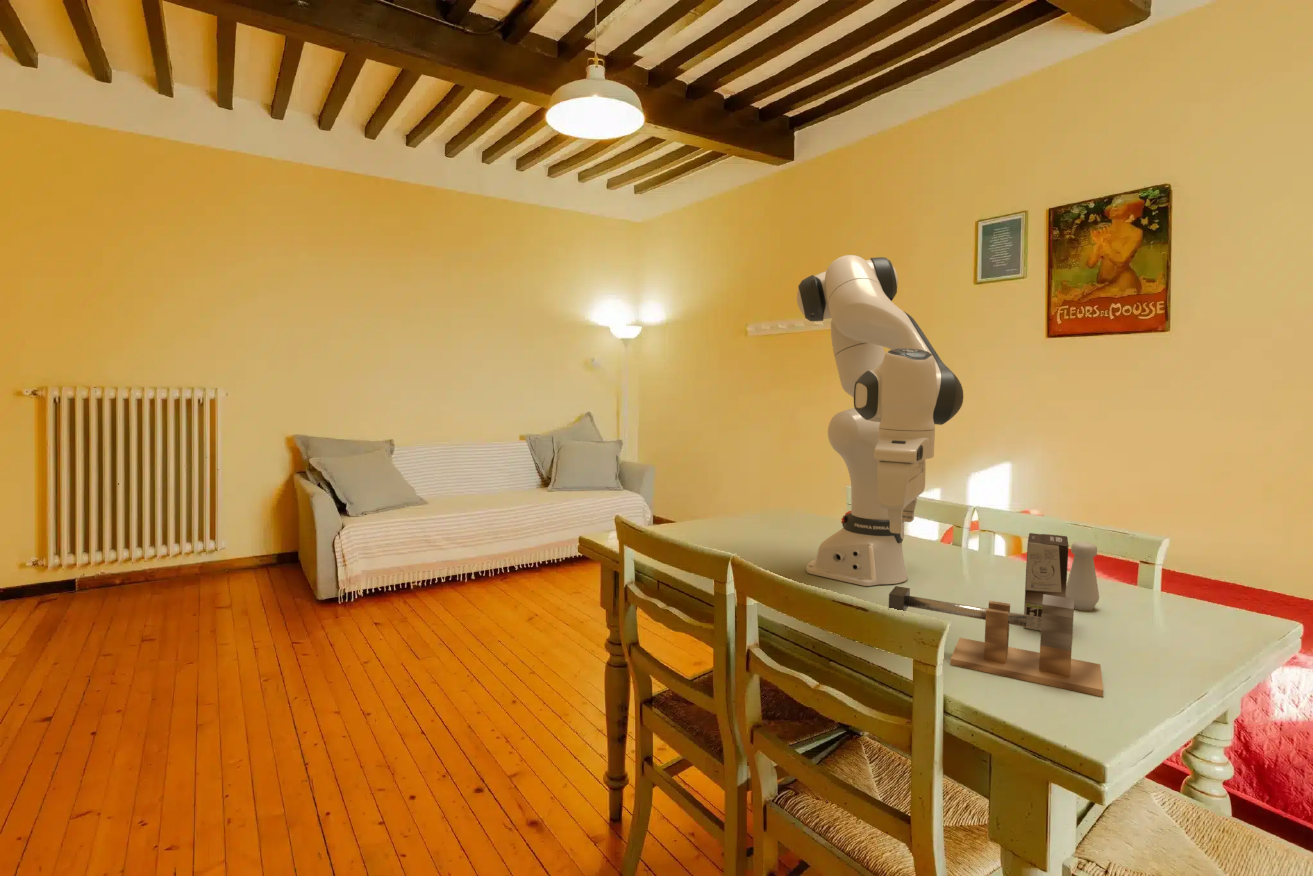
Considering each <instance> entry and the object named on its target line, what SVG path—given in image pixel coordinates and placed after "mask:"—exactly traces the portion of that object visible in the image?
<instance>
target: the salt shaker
mask: <svg viewBox="0 0 1313 876" xmlns="http://www.w3.org/2000/svg"><path fill="white" fill-rule="evenodd" d="M1070 551H1071V554H1073V555H1074V557H1073V559H1072V564H1071V568H1070V571H1069V575H1068V577H1067V585H1066V598H1072V599H1074V608H1075V609H1074V610H1077V611H1083V610H1084V611H1086V612H1091V611H1093V610H1094V608H1095V607H1096V605H1097V604H1098V603H1099V601H1100V594H1099V587H1098V580H1097V573H1096V567H1095V561H1094V557H1096V556H1097V555H1098V554H1097V553H1098V547H1097V546H1096V545H1095V544H1094V543H1092V542H1087V541H1075V542H1073V543H1072V544H1071V549H1070Z"/></svg>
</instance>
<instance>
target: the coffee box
mask: <svg viewBox="0 0 1313 876" xmlns="http://www.w3.org/2000/svg"><path fill="white" fill-rule="evenodd" d="M1069 546H1070V545H1069V541H1068V536H1066V535H1058V534H1047V533H1034V532H1033V533H1032V532H1029V533H1028V538H1027V547H1026V549H1027V550H1026V562H1025V563H1026V564H1025V565H1026V566H1025V567H1026V568H1025V588H1024V606H1023V607H1024V609H1023V611H1024V613H1023V615H1027V624H1026V627H1023V628H1024V629H1029V630H1035V631H1040V632H1041V620H1042V602H1043V594H1045V595H1052V596H1059V597H1066V586H1067V582H1068V567H1069V565H1068V563H1069Z"/></svg>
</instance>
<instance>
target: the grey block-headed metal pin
mask: <svg viewBox="0 0 1313 876" xmlns="http://www.w3.org/2000/svg"><path fill="white" fill-rule="evenodd" d="M889 608H894V609H897V610H903V611H905V612H906V611H907V609H908V608H915V609H920V610H927V611H931V612H936V613H937V612H938V613H945V614H950V615H955V616H960V617H967V618H973V619H978V620H985V621H986V609H987V608H984V607H979V606H971V605H967V604H962V603H961V604H960V603H955V602H950V601H949V602H948V601H942V600H936V599H931V598H926V597H919V596H912V595H911V588H910V587H904V586H900V585H899V586H898V585H895V586H894V587H893V589H892V590H891V591H890V592H889V594H888V609H889ZM1008 624H1009V625H1013V626H1019V627H1023V628H1024V627H1026V624H1027V615H1024V614H1021V613H1014V612H1011V611H1010V612H1008Z"/></svg>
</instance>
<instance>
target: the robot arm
mask: <svg viewBox="0 0 1313 876" xmlns="http://www.w3.org/2000/svg"><path fill="white" fill-rule="evenodd" d="M898 285H899V276H898V271H897V270H896V267H894V265H893V263H892V262H891V260H889V259H888V258H887V257H881V256H879V257H871V258H870V259H867V260H866V259H864V258H863V257H861V256H859V255H855V254H846V255H845V254H844V255H842V256H840V257H837V258H836V259H835V260H833V261H832V262H831V263H830V264H829V266H828V267H827V268H826V271H825V270H824V271H823V272H820V273H818V274H815V275H814V274H812V275H810V276H807V277H804V279H802V280H801V281H800V283H799V284H798V286H797V287H798V288H797V293H796V301H797V307H798V309H799V311H800V312H801V314H802V315H803V316H804V319H806V320H807V321H809V322H823V321H824V320H827V319H831V320H830V337H831V344H832V350H833V355H834V360H835V364H836V368H837V373H838V377H839V381H840V385H841V388H842V389H843V391H844V392H845V393H846V394H847V395H850V396H851V397H852V398H853V407H852V408H849V409H848V408H847V409H845V410H842V411H839V412H837V413H836V414H835V415H833V417H831V419H830V421H829V423H828V427H827V437H828V441H829V443H830V446H831V447H832V449H833V450H834V451H835V452H836V453H837V454H839V456H840V457H841V458H842V460H843V461H844V463H845V465H846V468H847V471H848V474H849V477H850V486H851V487H850V488H851V490H850V491H851V493H850V495H851V499H850V500H851V504H850V505H851V507H850V509H851V510H848V511H846V512H845V514H844V515H843V516H842V518H841V521H840V522H841V525H842V527H843V528H841V529H839V530H838V531H836V532H835V533H833V534H831V536H829V537H828V538H826V539H825V540H823V541H822V542H821V543H820V544H819V547H818V549H817V553H816V558H814V559H812V560H811V561H809V562H808V563H807V564H806V569H805V570H806V572H807V574H809V575H814V576H819V577H823V578H828V579H832V580H837V581H842V582H846V583H849V584H853V585H854V584H855V585H860V586H863V587H871V586H876V585H892V584H893V585H894V584H900V583H903V582H905V581H907V580H908V578H909V577H908V573H907V570H906V566H905V559H904V551H903V542H904V538H905V523H906V522H907V523H912V522H913V521H914V519H915V510H916V506H917V501H918V497H919V496H920V495H921V494H922V493H924V491H925V488H926V460H927V459H933V458H934V456H935V441H936V440H935V436H936V425H937V426H941V425H942V426H943V425H945V424H946V423H947V422H948V421H950V420H952V419H953V418H954V417H955V415H957V414H958V413H959V411H960V410H961V408H962V406H963V402H964V390H963V386H962V383H961V381H960V380H959V378H958V376H957V375H956V374H955V373H954V372H953V371H952V370H951V369H950V368H949V367H948V366H947V365H946V364H945V363H944V361H942V359H941V357H940V356H939V354H938V353H937V352H936V350H935V348H934V347H933V345H932V344H931V342H930V341H929V339H928V338H927V336H926V334H925V333H924V331H923V330H922V328H921V327H920V325H919V324H918V323H917V322H916V320H915V319H914V318H913V317H912V315H910V314H909V313H907V312H905V311H904V310H902V309H901V308H900V307H898V305H896V304H895V303H894V302H893V300H894V298H895V297H896V295H897V292H898V288H899V287H898ZM885 348H887V349H889V350H888V351H886V352H885Z"/></svg>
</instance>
